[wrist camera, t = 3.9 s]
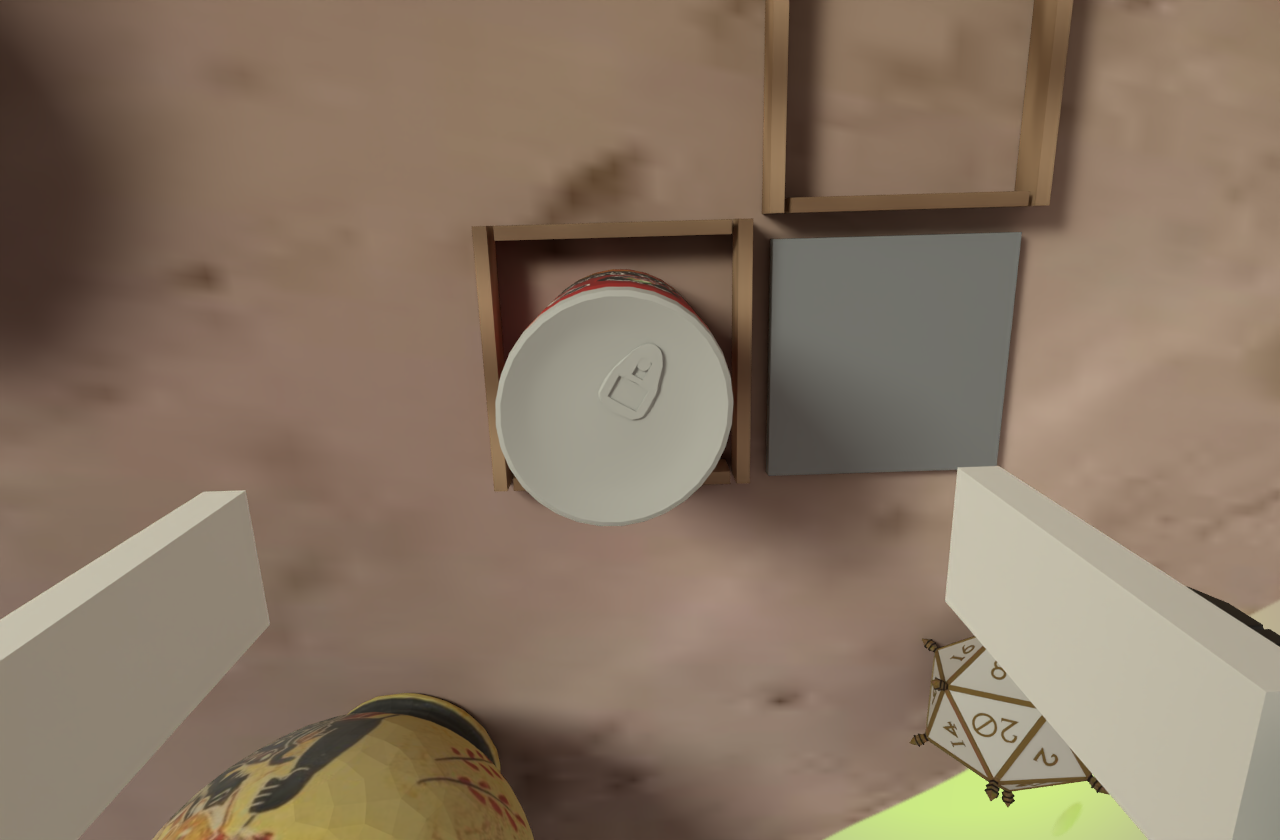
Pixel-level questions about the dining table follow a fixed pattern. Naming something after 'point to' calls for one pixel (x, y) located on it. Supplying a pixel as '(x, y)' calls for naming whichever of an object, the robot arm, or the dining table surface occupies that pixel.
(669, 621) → the dining table surface
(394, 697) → the amphora
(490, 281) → the frame
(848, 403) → the slate board
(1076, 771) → the game die
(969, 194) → the empty crate
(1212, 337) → the dining table surface
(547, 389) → the canned food
